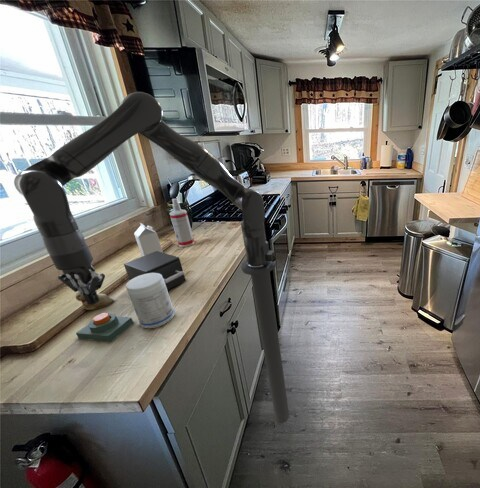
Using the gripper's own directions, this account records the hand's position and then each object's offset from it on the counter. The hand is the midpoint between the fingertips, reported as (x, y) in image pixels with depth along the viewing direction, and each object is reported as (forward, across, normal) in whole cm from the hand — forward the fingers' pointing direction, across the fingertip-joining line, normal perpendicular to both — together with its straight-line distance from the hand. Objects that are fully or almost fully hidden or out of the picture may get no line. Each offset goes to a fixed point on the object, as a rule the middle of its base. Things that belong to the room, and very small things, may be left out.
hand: (93, 302), depth 75 cm
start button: (+7, 0, 0) cm, 7 cm away
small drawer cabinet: (+10, +3, -26) cm, 28 cm away
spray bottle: (+10, +18, -65) cm, 68 cm away
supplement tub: (+10, -12, -6) cm, 17 cm away
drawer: (+9, -1, -25) cm, 26 cm away
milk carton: (+10, +19, -43) cm, 48 cm away
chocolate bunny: (+10, +15, -11) cm, 21 cm away
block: (+10, 0, 0) cm, 10 cm away
